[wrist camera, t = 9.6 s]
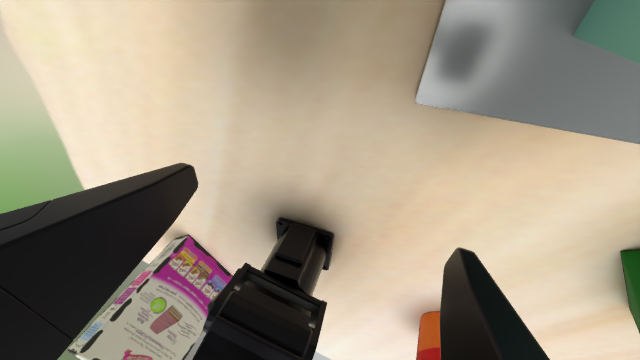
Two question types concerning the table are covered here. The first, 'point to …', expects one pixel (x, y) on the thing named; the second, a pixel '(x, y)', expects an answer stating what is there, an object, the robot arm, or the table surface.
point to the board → (530, 68)
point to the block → (613, 27)
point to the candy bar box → (157, 308)
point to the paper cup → (429, 337)
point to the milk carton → (632, 282)
